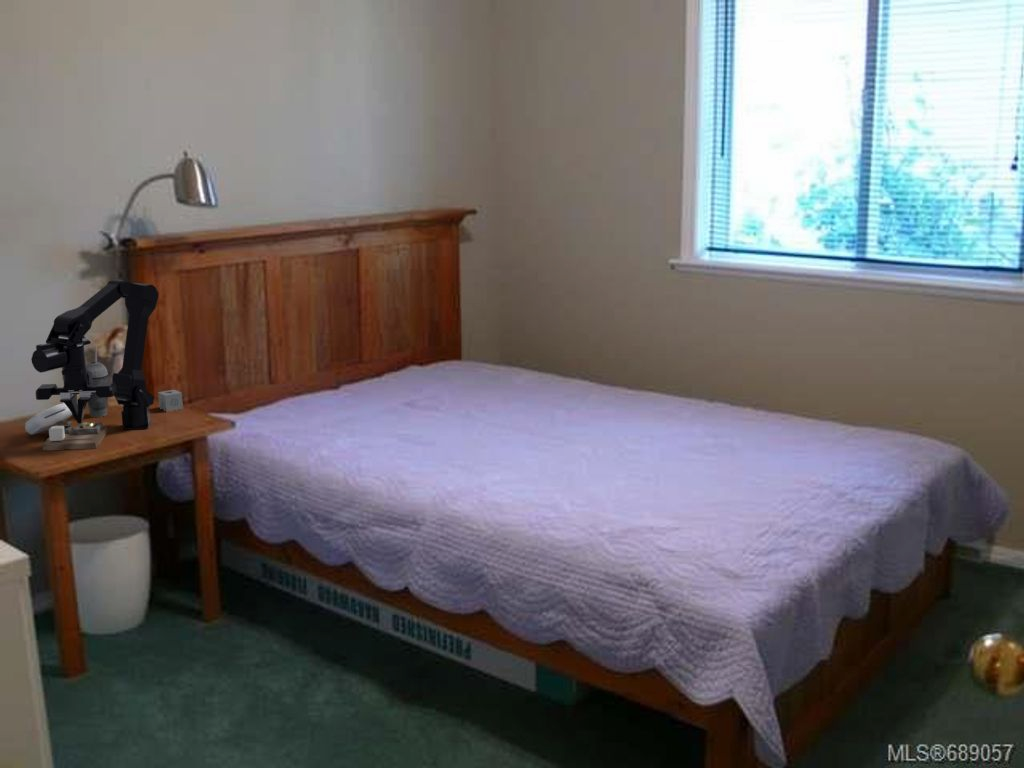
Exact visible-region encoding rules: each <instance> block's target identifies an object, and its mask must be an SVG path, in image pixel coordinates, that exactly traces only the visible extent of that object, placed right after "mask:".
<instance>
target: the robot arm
mask: <svg viewBox="0 0 1024 768" xmlns="http://www.w3.org/2000/svg"><path fill="white" fill-rule="evenodd" d="M159 294H160V293H159V290H158V289H157V287H156V286H155V285H153V284H150V283H149V284H148V283H141V282H140V283H137V282H132V283H131V282H129V281H126V280H123V279H111V280H109V281H108V282H107V284H106V285H104V286H103V287H102V288H101V289H100V290H98V291H97V292H96V293H95V294H93V295H92V296H91V297H89V298H88V299H87V300H86V301H85V302H83V304H81V305H80V306H78V307H76V308H72V309H70V310H66V311H64V312H63V313H61V314H59V315H57V316H56V317H55V319H54V320H53V325H52V327H51V329H50V332H49V334H48V337H47V338H46V341H45V343H43V344H36V345H35V349H36V350H34V351H33V352H32V355H31V359H30V360H31V363H32V366H33V368H34V369H35V370H36V371H37V372H38V373H46V372H50V371H54V370H58V369H61V375H62V381H63V386H62V387H58V386H57V384H56V383H45V384H41V385H40V386H39V387H38V388H37V389H36V390H35V399H36V401H44V400H47V401H48V400H50V398H52V396H60V399H59V401H60V403H65V404H66V406H67V407H68V408H69V410H70V411H71V413H72V414H73V415H72V416H73V418H74V419H75V421H76V423H77V424H79V423H83V419H84V415H85V410H86V407H87V406H88V403H87V402H88V401H90V400H91V399H92V398H93V397H94V394H96V395H97V396H98V397H99V398H104V397H107V398H113V397H114V398H115V400H116V403H117V404H118V405H119V406H121V405H122V410H121V411H120V413H121V424H122V426H123V428H122V430H145V429H149V427H150V425H151V424H152V422H153V421H152V420H151V415H150V406H151V405H154V402H155V396H154V395H153V394H151V393H150V392H149V390H147V389H146V382H147V381H146V378H145V375H144V373H143V369H142V367H143V362H144V361H143V360H144V354H145V353H144V352H145V347H146V346H145V345H146V338H147V331H148V324H149V318H150V316H152V314H153V312H154V311H155V310H156V307H157V305H158V302H159V301H158V300H159ZM123 298H124V305H125V308H126V310H127V312H128V323H127V331H126V338H125V345H124V352H123V359H122V367H121V369H120V370H119V371H118V372H113V374H112V380H111V381H108V382H100V383H99V384H98V385H97V386H89V387H88V385H91V384H92V372H90V371H88V370H87V365H86V363H87V362H86V353H85V346H87V345H90V344H91V343H92V341H90V340H89V339H88V338H86V337H85V336H86V334H87V333H88V332H89V331H90V330H91V329H92V325H93V322H94V321H95V320H96V319H97V318H98V317H99V316H100V315H102V314H103V313H104V312H105V311H107V310H108V309H109V308H110V307H111V306H112V305H114V304H115V303H116V302H117V301H119V300H120V299H123ZM78 395H79V398H78Z"/></svg>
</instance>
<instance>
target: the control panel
mask: <svg viewBox="0 0 1024 768" xmlns="http://www.w3.org/2000/svg"><path fill="white" fill-rule="evenodd" d="M93 422H94V421H93ZM82 423H83V422H82ZM82 423H77V425H76V426H74V425H63V426H64V431H65V438H64V439H63V440H62V441H50V436H49V437H48V438H47V439H46V441H45V442H43V444H42V446H41V447H42V451H43V450H47V451H65V450H64V449H70V450H90V449H91V450H92V449H93V450H94V449H97V447H98V446H99V445H100V444H101V442H102V441H103V439H104V438H105V437H104V436H106V435H108V427H107V426H106V427H104V425H103V422H101V421H100V422H99V421H98V422H97V421H96V422H94V423H95V428H82Z"/></svg>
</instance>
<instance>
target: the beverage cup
mask: <svg viewBox="0 0 1024 768" xmlns="http://www.w3.org/2000/svg"><path fill="white" fill-rule="evenodd" d="M97 351H98V347H97V346H95V347H94V361H90V362H87V364H86V365H87V370H88V371H90V372H92V384H91V385H88V387H89V386H97V385H98V384H99V383H100V382H109V381H108V380H109V373H108V369H107V367H106V366H105V365H104V364H103V363H101V362H98V360H97V359H98V358H97V357H98V352H97ZM87 407H88V411H89V414H90V415H89V416H90V418H94V417H98V418H103V416H104V417H106V415H107V416H108V397H104V398H99V397H98V396H97V395H96V394H94V397H93V398H92V399H91V400H90V401H88V402H87Z"/></svg>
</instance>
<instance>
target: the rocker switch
mask: <svg viewBox="0 0 1024 768" xmlns="http://www.w3.org/2000/svg"><path fill="white" fill-rule="evenodd" d="M72 425H73V421H68V420H67V421H64V422H57V425H56V426H72Z"/></svg>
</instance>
